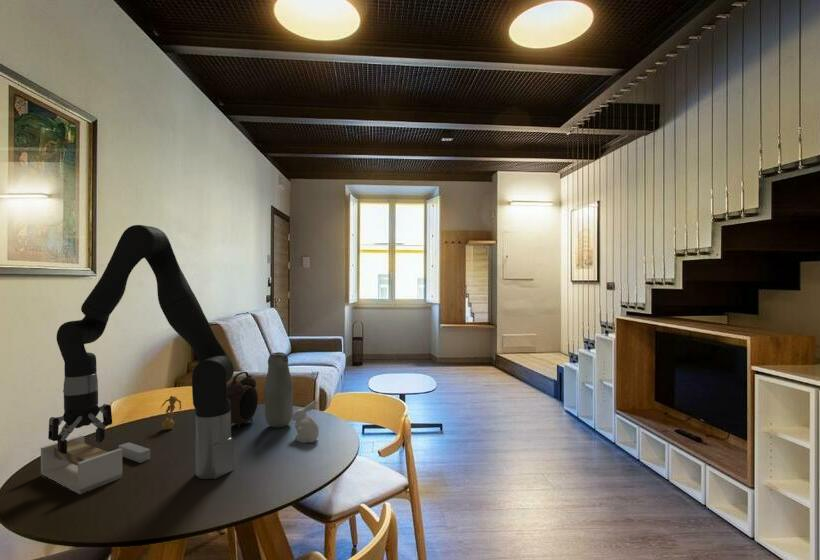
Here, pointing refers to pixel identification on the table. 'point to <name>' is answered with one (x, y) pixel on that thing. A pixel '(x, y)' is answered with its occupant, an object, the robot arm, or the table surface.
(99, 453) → the shelf board
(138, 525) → the table surface
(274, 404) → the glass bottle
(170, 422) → the figurine
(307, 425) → the rabbit
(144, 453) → the block
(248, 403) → the alarm clock
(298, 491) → the table surface
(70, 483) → the shelf frame
